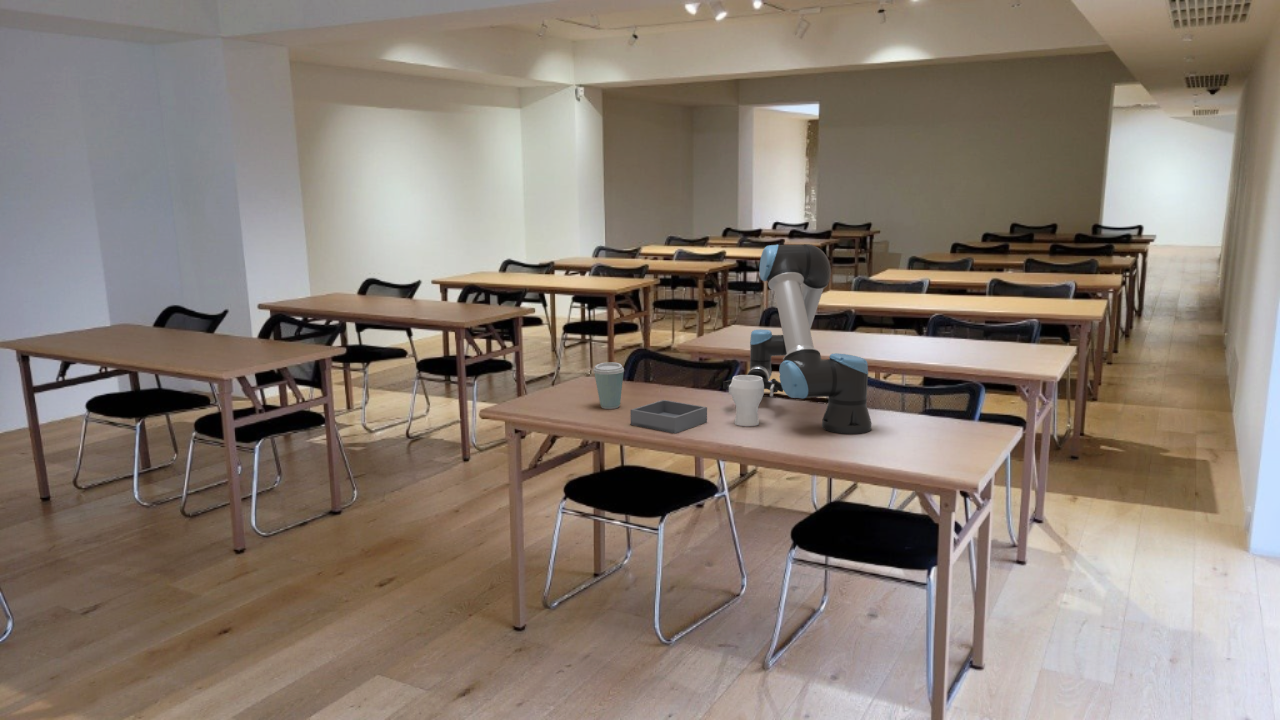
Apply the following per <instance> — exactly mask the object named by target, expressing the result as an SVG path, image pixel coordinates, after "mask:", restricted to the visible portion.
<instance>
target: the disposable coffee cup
mask: <svg viewBox="0 0 1280 720" xmlns="http://www.w3.org/2000/svg"><path fill="white" fill-rule="evenodd" d="M624 372H625V368H624V367H623V365H622V364H621V363H619V362H613V361H612V362H611V361H610V362H601V363H598V364H596V365H595V366H594V368H593V373H594V377H595V378H594V379H595V383H596V384H595V385H596V388H597V395H598V401H599V405H600V407H601V408H602V409H604V410H614V409H618V408H620V405H621V399H622V390H623V381H624V380H623V379H624V374H625V373H624Z"/></svg>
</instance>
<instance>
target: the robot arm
mask: <svg viewBox="0 0 1280 720" xmlns="http://www.w3.org/2000/svg"><path fill="white" fill-rule="evenodd" d="M831 272H832V270H831V263H830V261H829V258H828V256H827V255H826V254H825V252H824V251H823V250H822V249H821V248H819V247H817V246H815V245H813V244H807V243H806V244H771V245H770V244H769V245H766V246H765V247H764V249H763V250H762V253H761V255H760V260H759V277H760V280H761V281H763V282H767V284H768V285H767V286H768V288H769V289H770V290H771V291H773V292H774V295H775V296H774V297H775V301H776V307H777V311H778V315H779V321H780V325H781V331H782V334H773V333H772V331H771V330H769V329H760V328H759V329H754V330H752V331H751V333H750V342H749V344H750V347H749V348H750V349H749V350H750V351H749V352H750V354H749V356H750V360H749V371H748V373H747V374H746V375H754V376H760V377H762V378H763V383H764V390H767V391H769V397H773V396H774V393H778V392H781V393H783V392H784V393H785V395H787V396H788V397H789V398H792V399H793V398H794V399H808V398H810V399H811V398H825V397H827V398H828V404H827V406H826V409H825V412H824V414H823V417H822V422H821V427H822V429H823V430H825V431H828V432H831V433H835V434H846V435H847V434H848V435H855V434H856V435H857V434H866V433H868V432H870V431H872V420H871V416H870V413H869V410H868V406H867V404H868V403H867V400H868V379H869V368H868V367H869V365H868V364H869V363H868V361H867V359H865V358H864V357H861V356H857V355H852V354H846V353H831V354H830V355H829V358H828V359H827V358H826V359H824V358H823V359H822V355H821V352H820V350H818V349H816V348H815V347H814V343H813V338H812V333H811V329H812V326H813V322H814V319H815V316H816V313H817V310H818V306H819V304H820V300H821V297H822V294H823V291H824V289H825V288H826V287H828V285H829V283H830V280H831V274H832V273H831ZM776 356H779V357H781V356H784V357H783V358H782V362H780V365H779V367H778V368H779V370H778V371H779V372H778V373H779V380H780V381H778V380H777V379H776V378H772V379H770V378H771V376H772V373H773V372H772V357H776ZM731 382H732V379H728V380H724V381H722V383H723V385H722V386H723V387H722V389H724V390H726V391H728V395H731ZM731 396H732V395H731Z"/></svg>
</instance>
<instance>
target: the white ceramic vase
mask: <svg viewBox="0 0 1280 720" xmlns="http://www.w3.org/2000/svg"><path fill="white" fill-rule="evenodd" d="M764 394H765V389H764V383H763V378H762V377H760V376H754V375H747V374H740V375H734V376H732V382H731V398H732V401H733V403H734V404H735V411H736V412H735V419H734V425H736V426H739V427H756V426H758V425H759V424H760V423H759V422H760V421H759V414H758V412H759V406H760V403H761V402H762V400H763V396H764Z"/></svg>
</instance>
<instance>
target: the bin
mask: <svg viewBox="0 0 1280 720" xmlns="http://www.w3.org/2000/svg"><path fill="white" fill-rule="evenodd" d="M705 423H708V406H702V405H696V404H690V403H686V402H685V403H684V402H677V401H675V400H674V401H672V400H666V399H661V400H657V401H655V402H651V403H647V404H645V405H642V406H638V407H635V408H631V409H630V425H631V426H635V427H639V428H645V429H649V430H655V431H659V432H660V431H661V432H663V433H664V432H665V433H670V434H674V435H675V434H679V433H680V432H683V431H687V430H689V429H692V428H694V427H697V426H701V425H703V424H705Z"/></svg>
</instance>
